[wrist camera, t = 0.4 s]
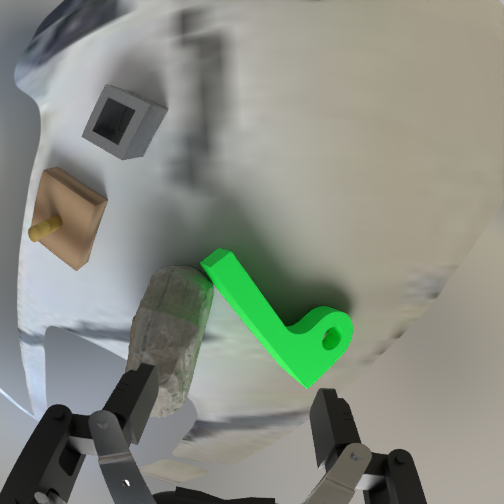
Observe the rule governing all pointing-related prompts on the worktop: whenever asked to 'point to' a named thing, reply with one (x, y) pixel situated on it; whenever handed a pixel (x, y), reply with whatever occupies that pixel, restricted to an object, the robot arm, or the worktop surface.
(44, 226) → the keeper
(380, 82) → the worktop surface
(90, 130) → the link
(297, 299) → the worktop surface
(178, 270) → the stone
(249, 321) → the bracket
